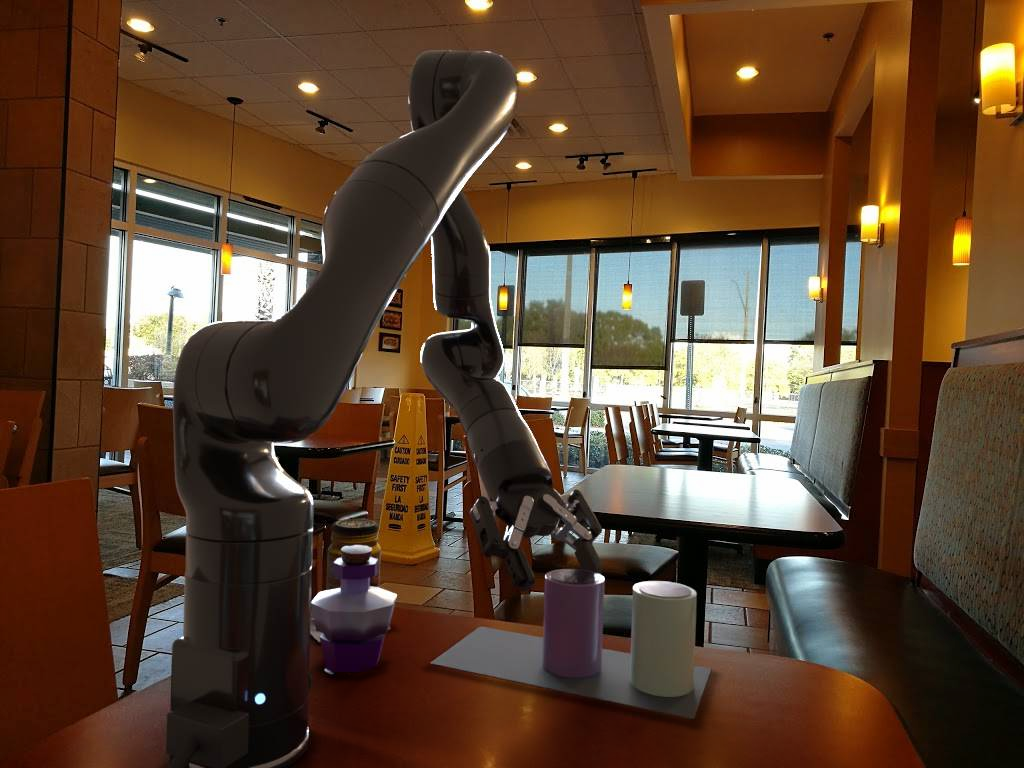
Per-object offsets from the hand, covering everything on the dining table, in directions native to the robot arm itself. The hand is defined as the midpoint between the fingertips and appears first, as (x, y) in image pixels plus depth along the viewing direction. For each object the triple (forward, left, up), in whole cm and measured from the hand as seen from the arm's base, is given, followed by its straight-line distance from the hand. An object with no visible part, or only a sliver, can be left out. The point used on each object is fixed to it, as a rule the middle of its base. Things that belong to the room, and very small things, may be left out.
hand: (563, 582), depth 75 cm
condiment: (-1, +26, -9) cm, 27 cm away
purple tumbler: (-1, -2, -8) cm, 8 cm away
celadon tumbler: (-1, -11, -8) cm, 13 cm away
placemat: (-1, -2, -9) cm, 9 cm away
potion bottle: (-10, +18, -9) cm, 23 cm away
